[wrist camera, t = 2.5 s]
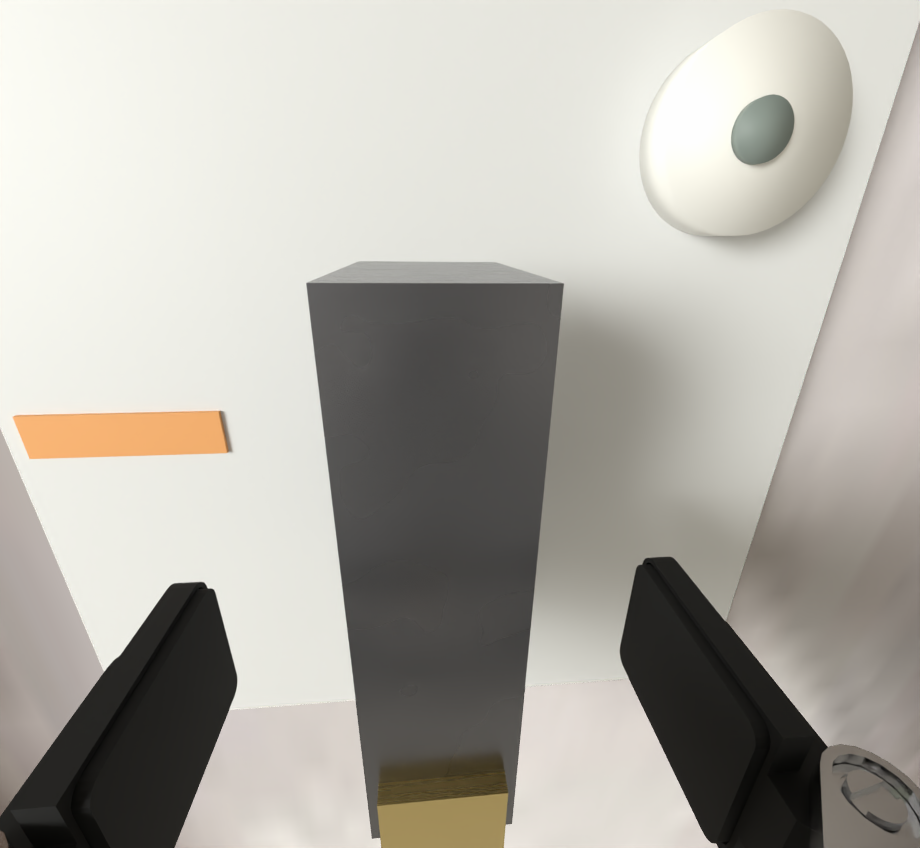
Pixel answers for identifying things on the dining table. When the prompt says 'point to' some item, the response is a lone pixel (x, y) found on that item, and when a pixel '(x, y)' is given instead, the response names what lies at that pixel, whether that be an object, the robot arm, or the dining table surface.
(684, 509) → the level plate
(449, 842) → the grey block with gold
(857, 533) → the dining table surface
